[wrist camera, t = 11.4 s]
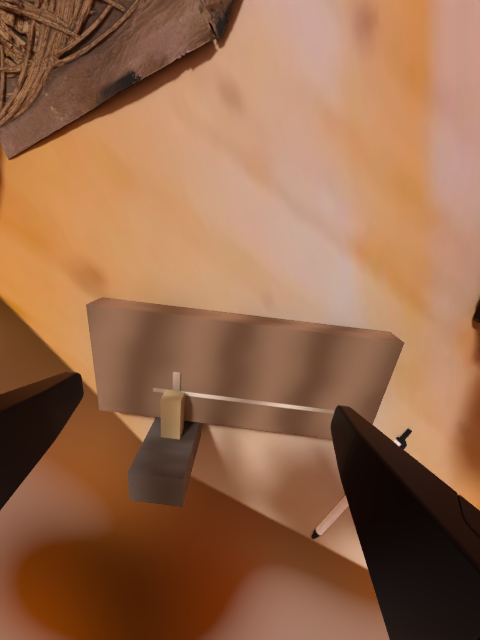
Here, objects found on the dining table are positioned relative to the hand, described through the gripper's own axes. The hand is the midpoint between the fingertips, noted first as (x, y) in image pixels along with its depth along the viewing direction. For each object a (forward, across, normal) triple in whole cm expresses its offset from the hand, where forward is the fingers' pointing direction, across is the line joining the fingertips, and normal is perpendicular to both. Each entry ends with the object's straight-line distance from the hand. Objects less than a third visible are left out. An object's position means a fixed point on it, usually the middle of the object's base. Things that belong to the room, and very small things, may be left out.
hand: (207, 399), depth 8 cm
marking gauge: (+12, +4, +11) cm, 16 cm away
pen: (+12, -15, +20) cm, 28 cm away
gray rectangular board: (+12, -1, +6) cm, 13 cm away
